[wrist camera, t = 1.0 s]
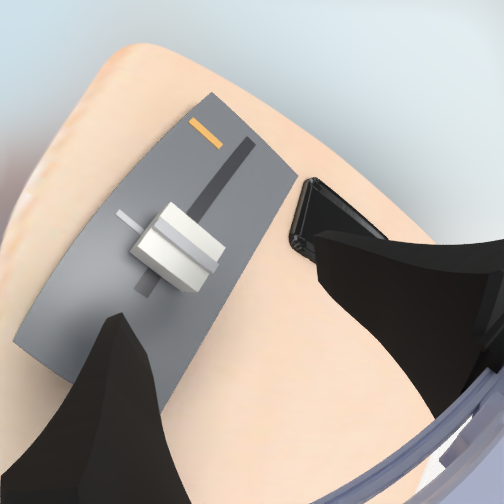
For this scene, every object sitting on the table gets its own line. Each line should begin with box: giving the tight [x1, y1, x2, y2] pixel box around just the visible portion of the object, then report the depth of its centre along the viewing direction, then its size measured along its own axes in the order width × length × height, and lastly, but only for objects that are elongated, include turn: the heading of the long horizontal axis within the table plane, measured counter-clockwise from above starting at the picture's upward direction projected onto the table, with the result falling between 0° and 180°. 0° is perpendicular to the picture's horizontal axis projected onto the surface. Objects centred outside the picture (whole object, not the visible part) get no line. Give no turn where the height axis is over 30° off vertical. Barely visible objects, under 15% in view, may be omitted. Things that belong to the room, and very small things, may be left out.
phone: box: [289, 177, 388, 263], centre depth 31 cm, size 8×1×15 cm
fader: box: [129, 202, 226, 292], centre depth 16 cm, size 3×4×3 cm
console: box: [13, 92, 298, 414], centre depth 19 cm, size 22×10×3 cm, turn 145°
